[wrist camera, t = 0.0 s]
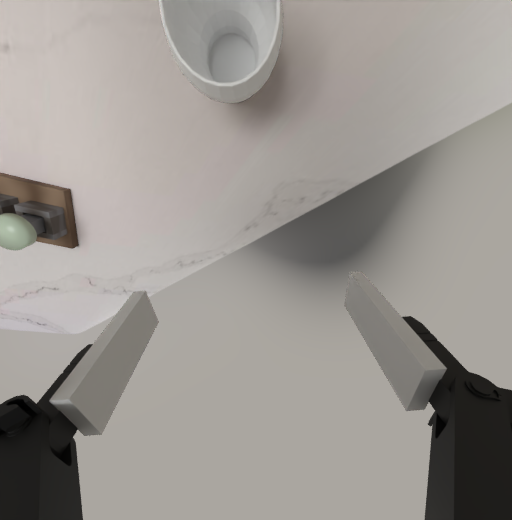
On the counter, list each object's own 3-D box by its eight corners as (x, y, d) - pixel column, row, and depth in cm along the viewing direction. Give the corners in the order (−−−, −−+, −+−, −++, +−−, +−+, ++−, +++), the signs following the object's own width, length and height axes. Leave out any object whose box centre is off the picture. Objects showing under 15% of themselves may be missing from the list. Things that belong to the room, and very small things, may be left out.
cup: (254, 126, 33) (258, 116, 20) (187, 95, 31) (141, 60, 18) (283, 40, 28) (312, -48, 15) (206, -4, 26) (163, -150, 13)
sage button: (23, 232, 36) (-10, 246, 32) (15, 203, 34) (-22, 212, 29) (57, 239, 37) (29, 253, 32) (51, 211, 35) (21, 221, 30)
